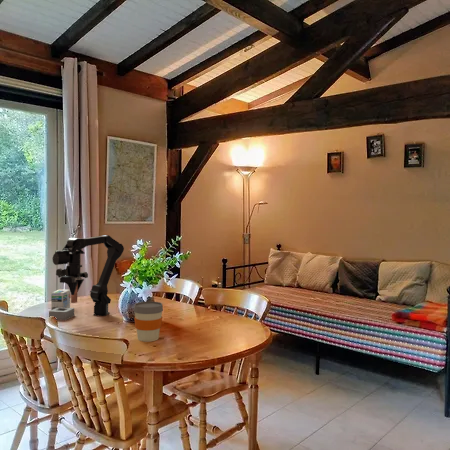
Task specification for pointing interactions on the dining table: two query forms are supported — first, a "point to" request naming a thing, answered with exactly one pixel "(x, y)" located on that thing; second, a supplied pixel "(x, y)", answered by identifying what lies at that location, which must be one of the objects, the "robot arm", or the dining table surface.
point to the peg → (74, 296)
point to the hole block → (62, 313)
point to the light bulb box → (60, 299)
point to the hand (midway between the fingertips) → (74, 294)
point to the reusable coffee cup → (148, 320)
